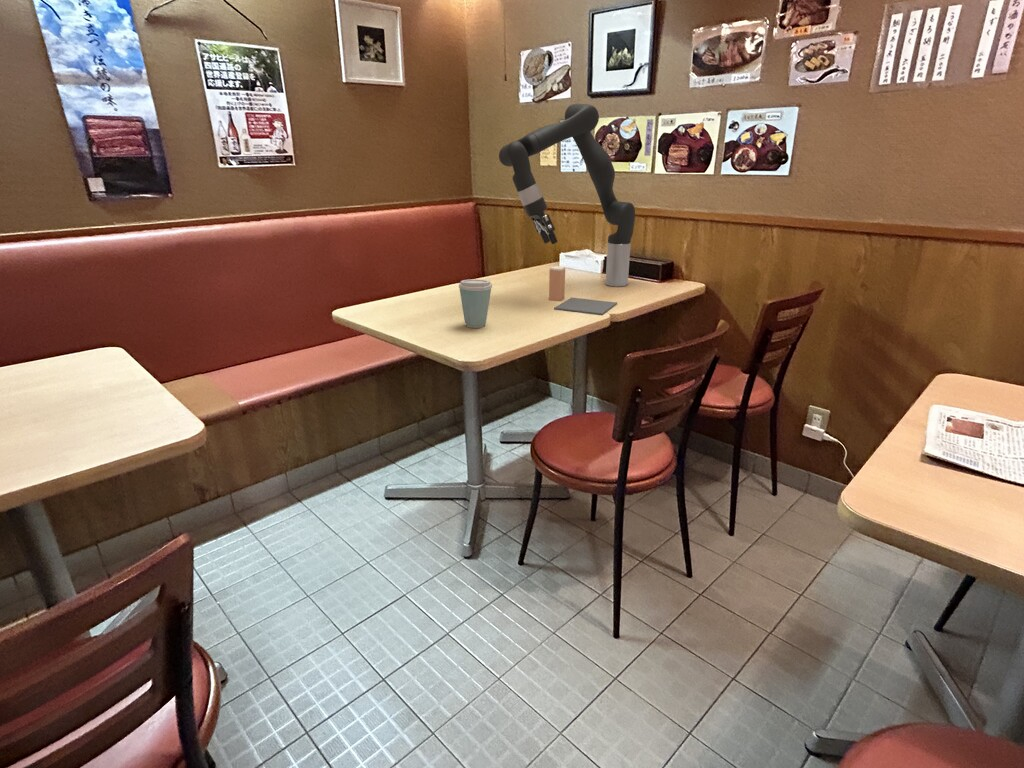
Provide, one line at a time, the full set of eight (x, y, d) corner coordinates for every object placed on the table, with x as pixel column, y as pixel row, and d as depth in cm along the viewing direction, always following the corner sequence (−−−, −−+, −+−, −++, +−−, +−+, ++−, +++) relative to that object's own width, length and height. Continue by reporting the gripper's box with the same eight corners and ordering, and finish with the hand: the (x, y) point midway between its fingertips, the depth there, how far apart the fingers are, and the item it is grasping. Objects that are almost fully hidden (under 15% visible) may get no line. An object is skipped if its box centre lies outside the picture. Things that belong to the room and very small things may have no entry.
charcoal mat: (571, 298, 224) (571, 297, 224) (617, 304, 216) (617, 302, 216) (554, 309, 210) (554, 307, 210) (602, 315, 202) (602, 313, 202)
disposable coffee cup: (459, 321, 196) (458, 276, 190) (492, 320, 197) (491, 276, 191) (460, 330, 186) (458, 283, 181) (494, 329, 187) (493, 283, 182)
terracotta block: (553, 297, 227) (554, 266, 222) (564, 298, 225) (565, 267, 220) (548, 299, 223) (549, 268, 218) (559, 301, 221) (560, 269, 217)
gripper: (548, 194, 198) (566, 238, 204) (535, 196, 211) (553, 237, 217) (528, 204, 197) (548, 248, 203) (517, 205, 211) (536, 247, 216)
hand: (551, 242), depth 210 cm, fingers open, 8 cm apart
